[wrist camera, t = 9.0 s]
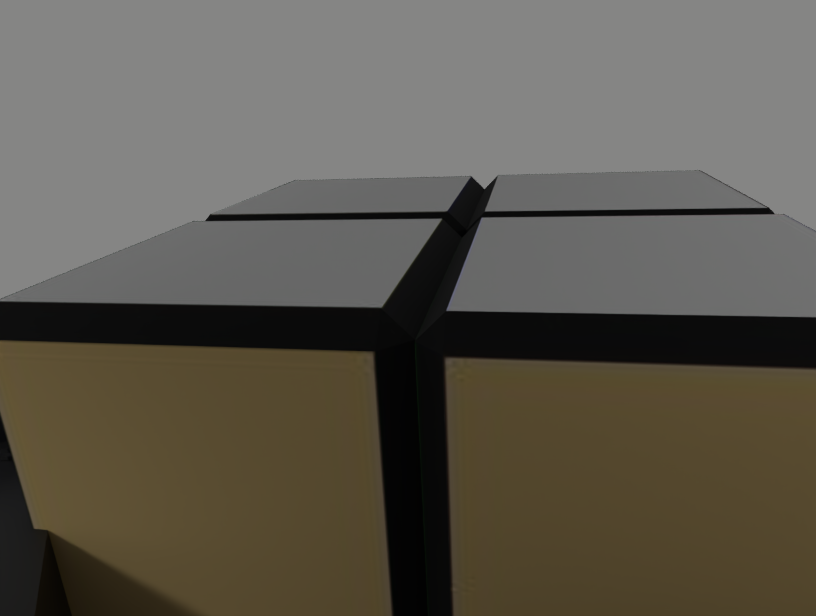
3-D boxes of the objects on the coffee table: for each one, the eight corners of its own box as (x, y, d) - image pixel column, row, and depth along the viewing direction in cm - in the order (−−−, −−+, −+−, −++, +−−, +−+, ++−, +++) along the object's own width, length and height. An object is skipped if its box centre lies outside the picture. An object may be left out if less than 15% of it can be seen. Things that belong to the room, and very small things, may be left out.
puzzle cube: (322, 510, 19) (285, 178, 16) (671, 539, 17) (711, 167, 14) (125, 911, 10) (-60, 310, 7) (834, 1068, 8) (1063, 333, 5)
